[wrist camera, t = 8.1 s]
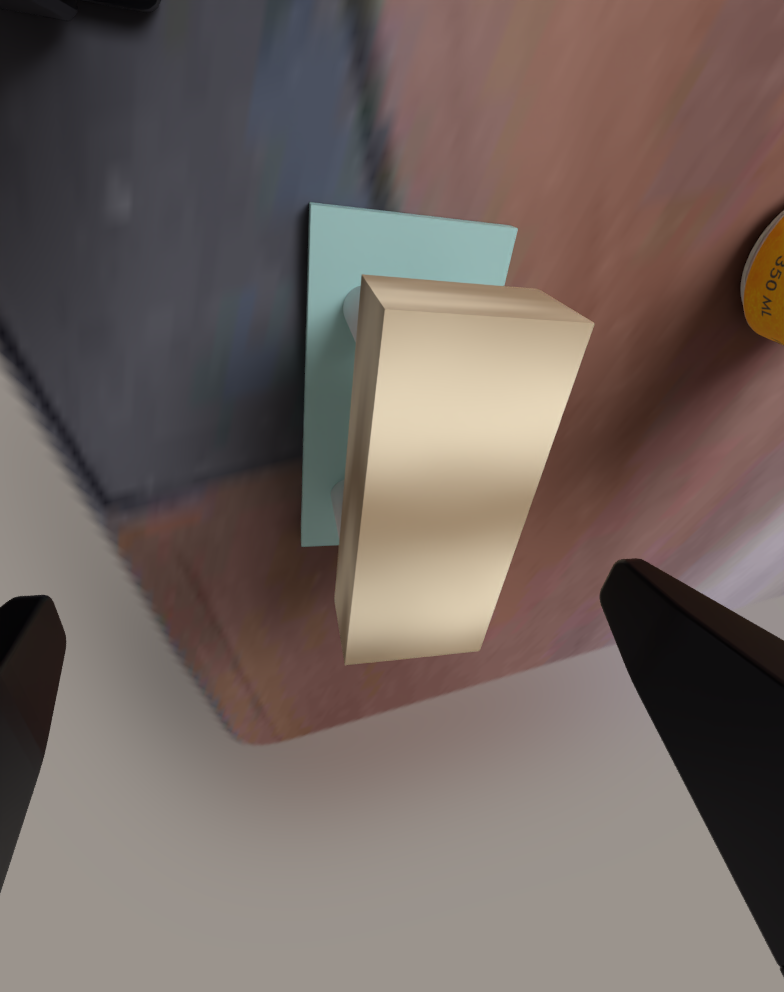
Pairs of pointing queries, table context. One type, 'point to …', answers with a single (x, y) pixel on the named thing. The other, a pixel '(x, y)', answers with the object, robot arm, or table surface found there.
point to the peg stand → (334, 316)
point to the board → (444, 456)
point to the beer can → (766, 283)
